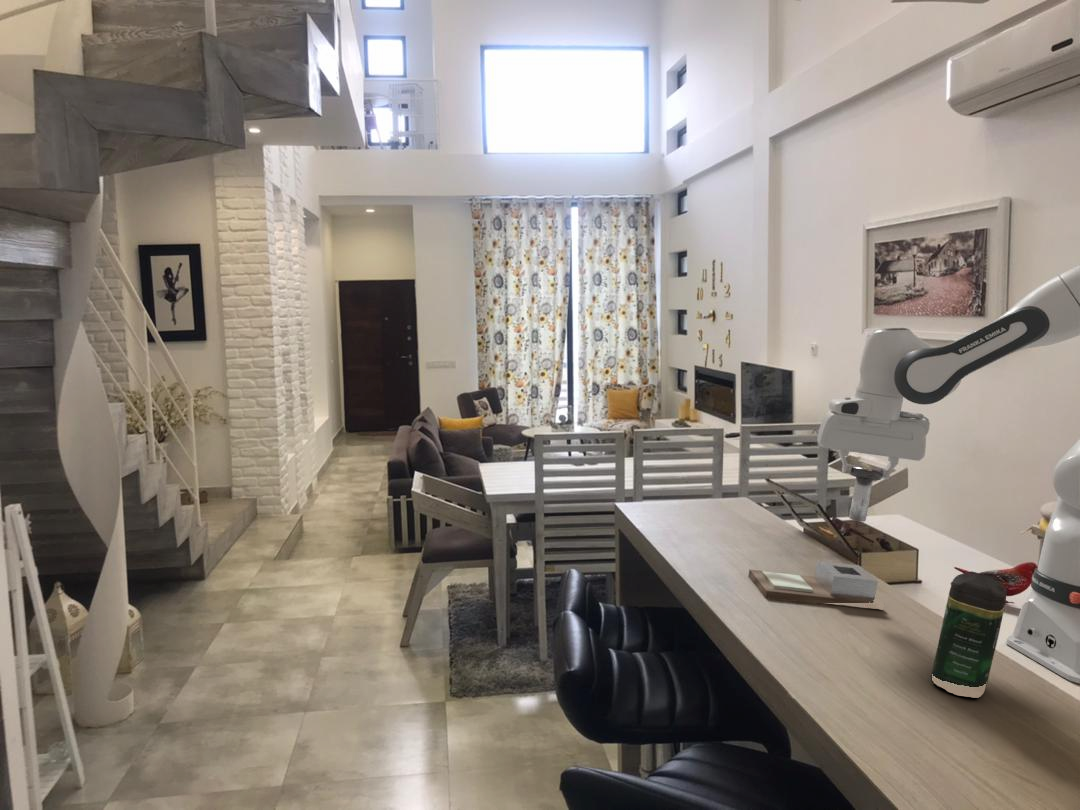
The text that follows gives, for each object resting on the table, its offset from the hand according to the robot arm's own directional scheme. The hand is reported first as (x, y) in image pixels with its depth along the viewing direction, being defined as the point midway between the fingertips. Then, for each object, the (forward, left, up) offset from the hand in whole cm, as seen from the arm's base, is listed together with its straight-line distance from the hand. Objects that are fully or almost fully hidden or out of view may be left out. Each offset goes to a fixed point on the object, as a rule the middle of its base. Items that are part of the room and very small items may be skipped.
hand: (865, 475), depth 162 cm
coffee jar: (-37, -4, -26) cm, 45 cm away
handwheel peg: (0, 0, -9) cm, 9 cm away
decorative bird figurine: (+7, -36, -26) cm, 45 cm away
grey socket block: (0, 0, -24) cm, 24 cm away
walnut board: (0, +6, -26) cm, 26 cm away
